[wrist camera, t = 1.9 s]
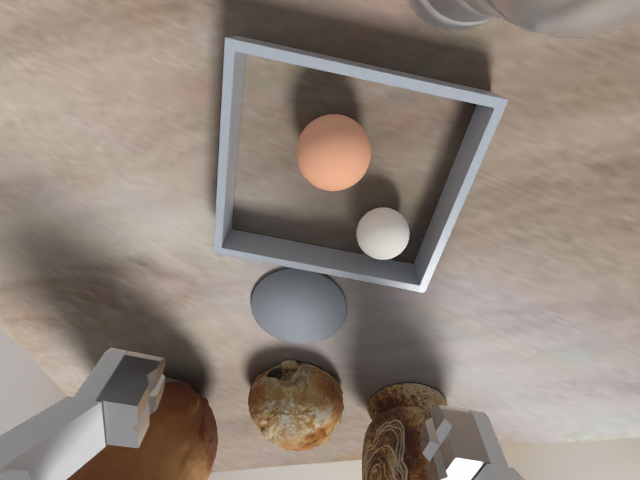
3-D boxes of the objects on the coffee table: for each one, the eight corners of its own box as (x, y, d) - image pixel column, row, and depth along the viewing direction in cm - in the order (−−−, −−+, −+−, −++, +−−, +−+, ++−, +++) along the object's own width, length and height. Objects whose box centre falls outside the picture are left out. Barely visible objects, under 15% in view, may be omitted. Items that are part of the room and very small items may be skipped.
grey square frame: (491, 91, 25) (508, 99, 22) (418, 271, 32) (424, 292, 30) (237, 35, 24) (224, 37, 21) (224, 233, 31) (213, 252, 29)
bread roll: (327, 334, 42) (307, 366, 34) (363, 416, 42) (351, 467, 34) (254, 359, 45) (220, 394, 37) (288, 436, 45) (262, 487, 37)
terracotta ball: (376, 115, 26) (383, 134, 22) (359, 181, 28) (362, 210, 24) (306, 100, 26) (299, 116, 21) (295, 168, 28) (286, 194, 24)
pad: (356, 278, 33) (356, 280, 33) (335, 348, 38) (335, 350, 37) (256, 259, 33) (256, 261, 32) (247, 332, 37) (246, 334, 37)
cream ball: (412, 204, 29) (421, 229, 26) (397, 246, 31) (403, 274, 28) (362, 194, 29) (365, 217, 26) (350, 237, 31) (351, 264, 28)
